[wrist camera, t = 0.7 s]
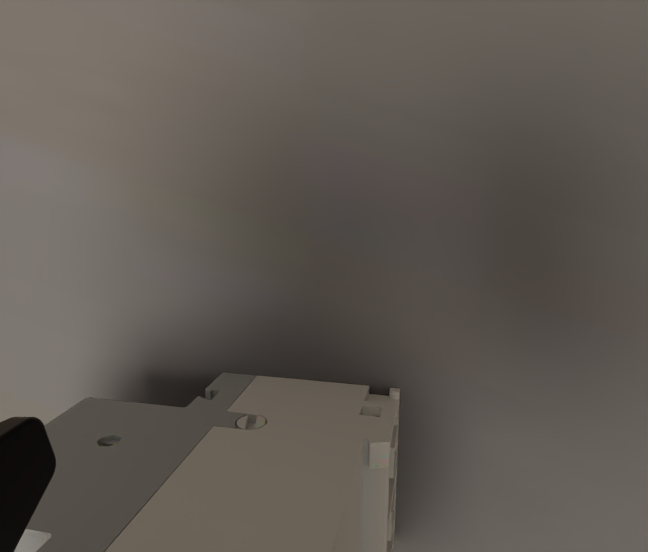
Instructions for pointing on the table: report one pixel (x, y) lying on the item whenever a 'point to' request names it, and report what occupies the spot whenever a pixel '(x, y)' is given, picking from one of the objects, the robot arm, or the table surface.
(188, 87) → the table surface
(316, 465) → the circuit breaker
